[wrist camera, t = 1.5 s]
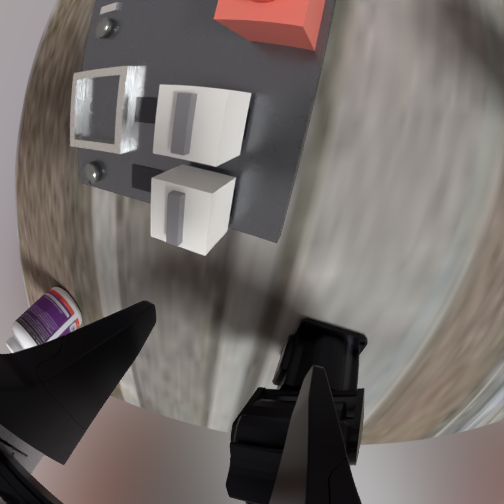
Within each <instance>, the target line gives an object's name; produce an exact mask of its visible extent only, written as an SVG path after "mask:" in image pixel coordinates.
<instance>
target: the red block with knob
mask: <svg viewBox="0 0 504 504" xmlns="http://www.w3.org/2000/svg"><path fill="white" fill-rule="evenodd" d="M324 4H325V0H218V3H217V7H216V11H215V15H214V20H215V21H217V22H219V23H221V24H222V25H224V26H226V27H228V28H229V29H231V30H233V31H234V32H236V33H237V34H239V35H241V36H242V37H244V38H245V39H247V40H248V41H255V42H264V43H272V44H279V45H285V46H291V47H297V48H302V49H308V50H312V51H315V47H316V42H317V37H318V33H319V28H320V23H321V19H322V14H323V9H324Z"/></svg>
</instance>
